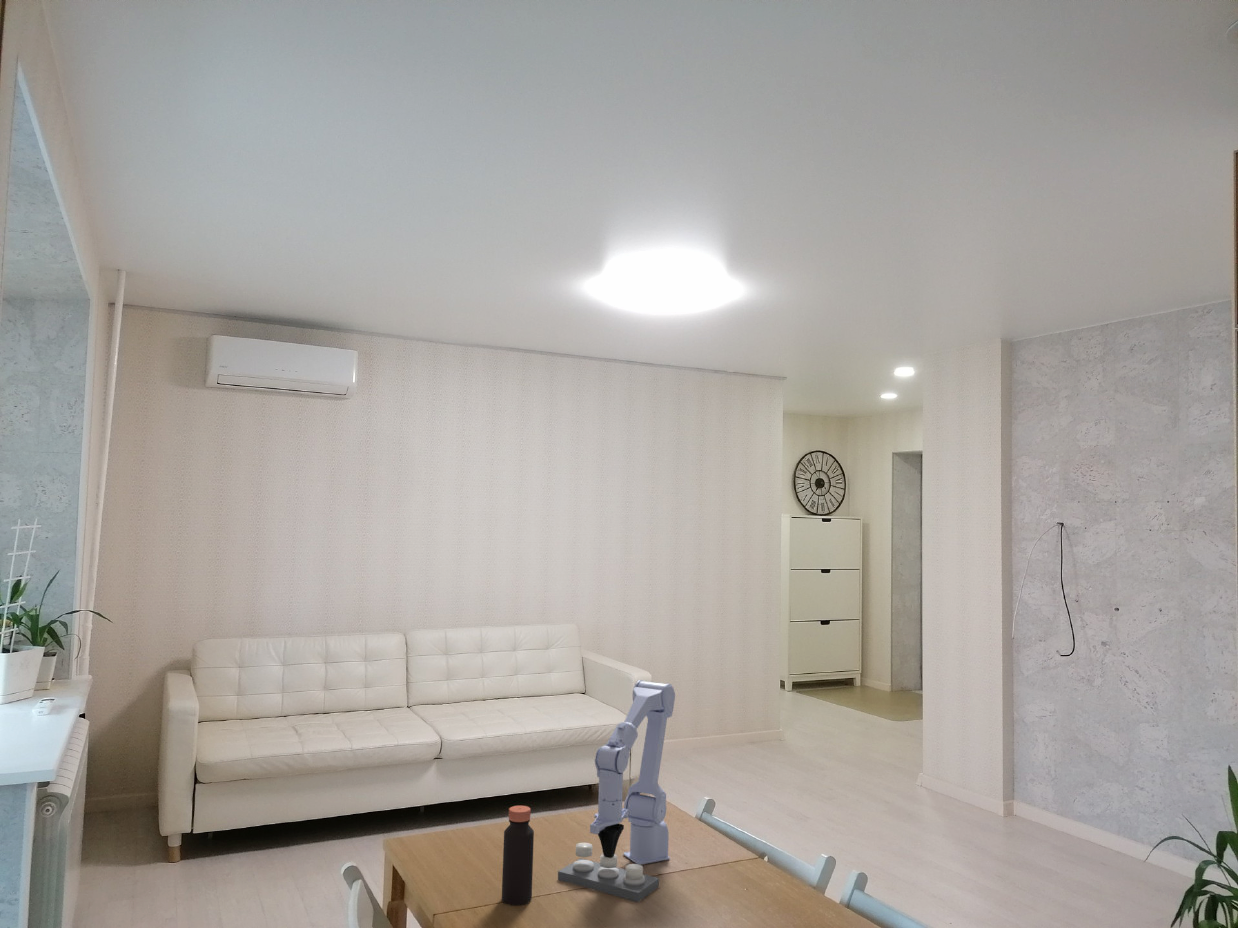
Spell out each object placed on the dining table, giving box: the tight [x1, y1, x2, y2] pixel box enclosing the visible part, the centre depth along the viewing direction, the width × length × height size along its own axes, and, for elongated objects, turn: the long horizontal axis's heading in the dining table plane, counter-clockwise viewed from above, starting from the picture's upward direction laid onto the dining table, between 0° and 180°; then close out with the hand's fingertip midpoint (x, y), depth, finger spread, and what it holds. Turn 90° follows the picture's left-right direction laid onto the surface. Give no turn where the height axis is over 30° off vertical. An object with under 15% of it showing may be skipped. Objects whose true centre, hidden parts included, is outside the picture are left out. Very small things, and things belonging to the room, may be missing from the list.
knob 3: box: [625, 863, 644, 880], centre depth 204 cm, size 4×4×2 cm
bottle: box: [501, 805, 535, 906], centre depth 198 cm, size 7×7×20 cm
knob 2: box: [599, 853, 618, 868], centre depth 208 cm, size 4×4×2 cm
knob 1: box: [575, 842, 593, 858], centre depth 212 cm, size 4×4×2 cm
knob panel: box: [557, 857, 660, 903], centre depth 208 cm, size 22×10×3 cm, turn 60°
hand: (608, 856), depth 208 cm, fingers closed, pressing on knob 2
